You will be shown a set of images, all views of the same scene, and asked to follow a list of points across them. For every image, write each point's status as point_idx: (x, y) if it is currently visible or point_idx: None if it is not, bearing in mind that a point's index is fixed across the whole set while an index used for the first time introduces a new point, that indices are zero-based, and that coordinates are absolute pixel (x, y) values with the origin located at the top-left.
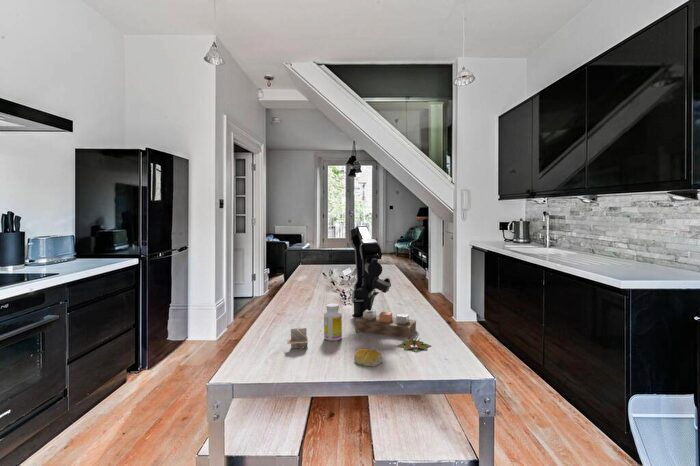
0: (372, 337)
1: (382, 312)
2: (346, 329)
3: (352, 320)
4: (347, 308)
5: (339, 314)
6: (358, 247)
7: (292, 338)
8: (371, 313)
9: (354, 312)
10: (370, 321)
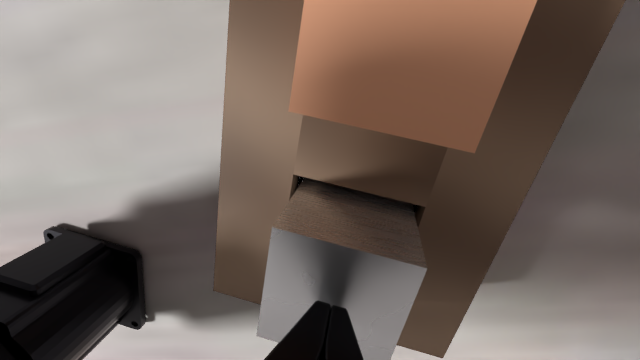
0: (626, 145)
1: (367, 106)
2: None
3: (220, 317)
4: None
5: None
6: None
7: None
8: (421, 273)
9: (110, 329)
10: (466, 227)
